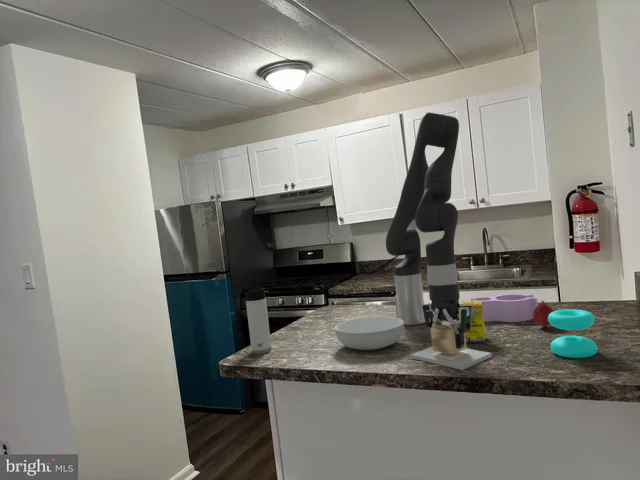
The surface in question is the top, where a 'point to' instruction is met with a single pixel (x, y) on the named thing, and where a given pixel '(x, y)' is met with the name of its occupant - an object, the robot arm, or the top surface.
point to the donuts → (572, 344)
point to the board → (452, 357)
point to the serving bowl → (369, 332)
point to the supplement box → (475, 322)
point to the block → (445, 339)
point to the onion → (542, 314)
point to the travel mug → (258, 321)
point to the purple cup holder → (508, 307)
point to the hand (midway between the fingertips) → (449, 345)
